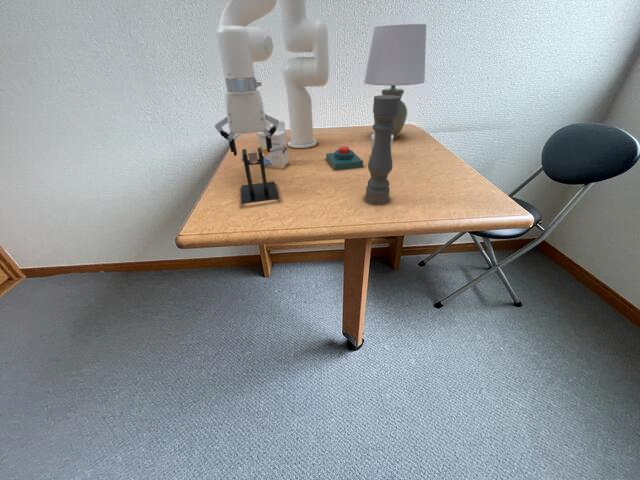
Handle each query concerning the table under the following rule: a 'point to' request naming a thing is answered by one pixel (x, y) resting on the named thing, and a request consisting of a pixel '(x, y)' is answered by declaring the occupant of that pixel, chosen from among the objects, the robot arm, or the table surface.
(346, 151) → the button
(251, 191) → the bracket
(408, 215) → the table surface
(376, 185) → the candle holder
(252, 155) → the lever
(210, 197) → the table surface
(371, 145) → the cup
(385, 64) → the lamp
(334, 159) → the button block
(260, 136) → the ink box
